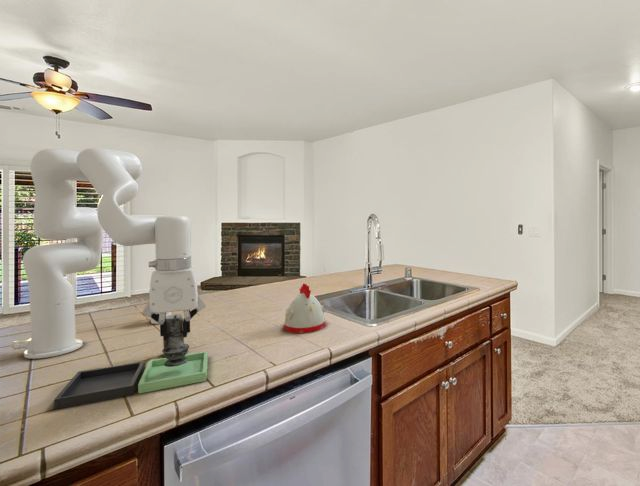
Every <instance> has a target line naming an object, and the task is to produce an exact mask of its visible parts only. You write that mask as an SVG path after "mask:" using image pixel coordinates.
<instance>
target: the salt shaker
mask: <svg viewBox="0 0 640 486" xmlns="http://www.w3.org/2000/svg"><path fill="white" fill-rule="evenodd" d="M176 317H177V316H176V315H175V316H174V319H172V320H171V321H170V322H169V333H168V334H167V336H169V344H168V347H166V348H164V347H163V349H162V350H161V352H162V353H163V357H164V356H165V357H164V358H167V359H168V360H167V361H166V362H165V363H164V366H167V367H174V366H179V365H182V364H184V363H186V362H187V361H188V358H186V357H184V356H185V355H187V354H188V352H189V348H190V344H188V343H185V342H184V343H183V335H182V334H183V331H182V321H181V319H178V318H176Z"/></svg>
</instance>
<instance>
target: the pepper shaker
mask: <svg viewBox="0 0 640 486" xmlns="http://www.w3.org/2000/svg"><path fill="white" fill-rule="evenodd" d="M175 315H176V316H177V317H176V318H178V319H181V321H182V331H183V321H184V317H183V315H182V314H180V313H179V314H178V313H176V314H175V313H174V314H171V315H169V316H166V319H167V322H168V333H169V322H170V321H171V320H172V319H174V316H175ZM182 335H183V334H182ZM162 343H163V344H162V345H163V346H162V348H163V349H164V348H166V347H168V344H169V336H168V338H167V339H166V340H163V342H162ZM183 343H184V344H185V337H183ZM163 358H165V356H164V355H163Z"/></svg>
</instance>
